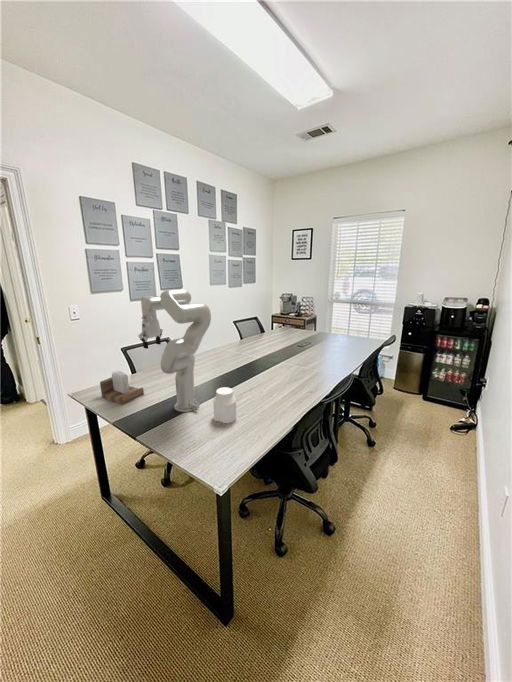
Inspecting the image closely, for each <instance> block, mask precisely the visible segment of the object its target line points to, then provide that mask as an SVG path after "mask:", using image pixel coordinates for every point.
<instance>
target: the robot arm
mask: <svg viewBox="0 0 512 682" xmlns="http://www.w3.org/2000/svg"><path fill="white" fill-rule="evenodd" d="M191 301H192V294H191V293H190V292H189V291H188V290H186V289H183V288H180V289H179V288H176V289H166V290H163V291H162V292H161V294H160V295H159V296H153V295H143V296H141V297H140V305H141V312H142V315H141V316H142V317H141V319H142V321H141V333H140V334H138V338H139V340H140V341H141V342H142V345H143V347H142V348H143V349H149V344H148V343H149V342H148V340H149V339H152V338H155V344H156V345H161V344H162V343H161V342H162V341H161V338H162V335H163V330H164V329H162V328H161V327H160V322H159V319H158V318H157V311H162V310H165V311H166V313H167V314H168V315H169V316H170V317H171V319H172V320H173V321H174V322H175V323H177V324H181V325H182V324H189V323H191V324H190V325H188V327H187V329H186V331H185V333H184V334H183V336H182V337H180V338H174V339H172V340H169V341H168V342H167V343H166V345H165V347H164V349H163V353H162V356H161V359H160V369H161V371H162V372H163V373H164V374H168V375H170V374H171V375H172V374H174V373H175V377H174V378H175V380H174V381H175V392H176V393H175V394H176V395H175V396H176V403H175V404H174V406H173V407H174V410H175V411H177V412H179V413H189V412H192V411H194V410H196V409H199V408H200V406H201V402H198V401H197V398H196V395H195V394H196V393H195V392H196V391H195V374H194V371H195V364H196V363H195V362H196V360H195V359H196V357H195V355H194V354H196V353H197V351H198V349H199V347H200V345H201V343H202V341H203V338H204V336H205V335H206V332H207V331H208V329H209V327H210V324H211V321H212V313H211V309H210V308H209V306H208V305H207V304H205V303H202V302H194V303H193V302H192V303H191Z"/></svg>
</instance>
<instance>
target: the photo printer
mask: <svg viewBox="0 0 512 682" xmlns="http://www.w3.org/2000/svg"><path fill="white" fill-rule="evenodd" d="M111 377H112V380H113V388H114V390H115V391H117V392H120V393H123V394H126V393H128V392H129V386H130V384H129V376H128V374H127V373H125V372H124V371H121V370H115V371H112V373H111Z"/></svg>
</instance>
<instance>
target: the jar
mask: <svg viewBox="0 0 512 682" xmlns="http://www.w3.org/2000/svg"><path fill="white" fill-rule="evenodd" d="M215 391H216V393H215V394H216V395H215V396H214V397H213V399H212V403H213V420H214V421H216V422H219V421H220V423H222V422H223V424H224V423H228V424H231V423H234V422H235V421H236V420H237V418H236V417H238V415H237V398H236V396H235V395H234V390H233V388H230V387H226V386H223V387H219V388H217V389H216V390H215ZM235 419H236V420H235ZM234 420H235V421H234ZM230 422H231V423H230Z"/></svg>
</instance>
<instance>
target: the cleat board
mask: <svg viewBox="0 0 512 682" xmlns="http://www.w3.org/2000/svg"><path fill="white" fill-rule="evenodd" d="M99 385H100V391H101V398H102V399H105V400H108V401H111V402H115V403H117V404H121V405H126V404H128V403H131V402H132V401H135V400H136V399H138V398H141V397H142V396H144V395H145V392H144V387H140V388H138V387H134V386H130V385H129V392H128V393H126V394H123V393H120V392H117V391H115V390H114V388H113V380H112V376H111V377H109V378H107V379H104V380H101V381H99Z"/></svg>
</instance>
